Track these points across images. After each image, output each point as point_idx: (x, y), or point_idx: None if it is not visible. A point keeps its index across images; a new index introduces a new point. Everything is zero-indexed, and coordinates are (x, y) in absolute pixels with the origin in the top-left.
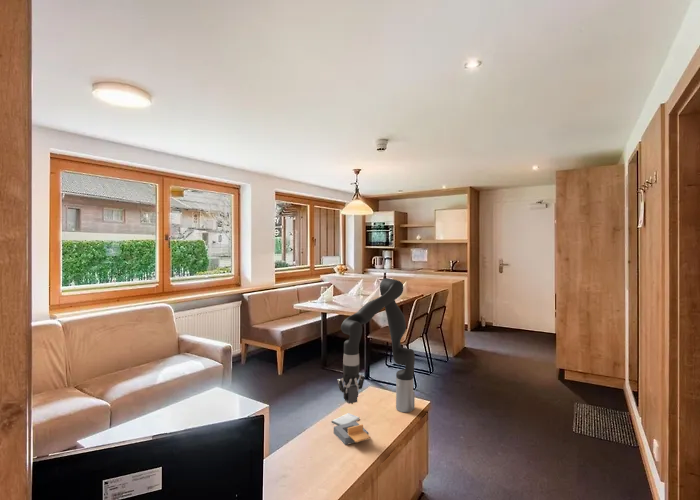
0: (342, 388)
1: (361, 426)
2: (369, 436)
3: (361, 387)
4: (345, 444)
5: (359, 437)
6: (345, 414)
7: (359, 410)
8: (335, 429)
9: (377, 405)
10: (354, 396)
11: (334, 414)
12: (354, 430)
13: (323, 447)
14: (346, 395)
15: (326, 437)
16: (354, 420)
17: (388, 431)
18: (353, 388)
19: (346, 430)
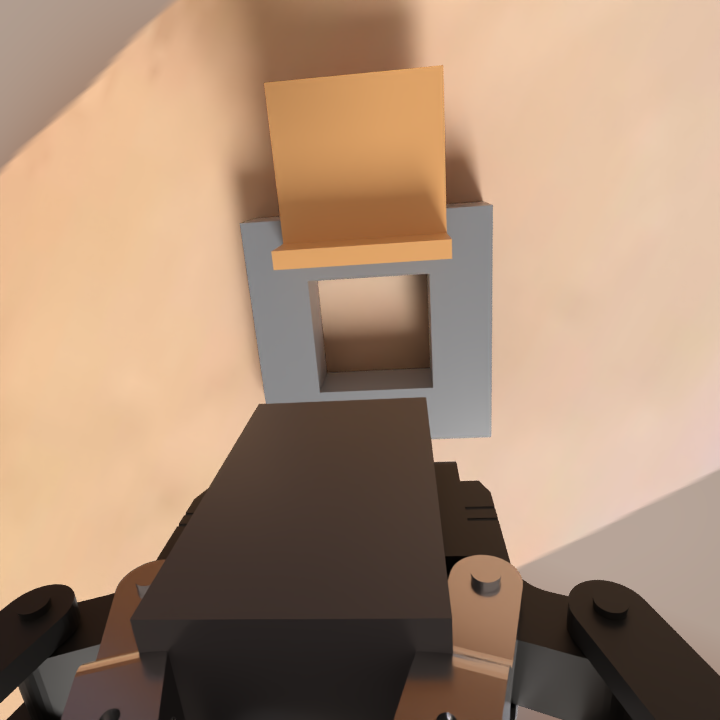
0: (680, 682)
1: (292, 248)
2: (271, 97)
3: (20, 607)
4: (479, 202)
5: (374, 122)
6: None
7: None
8: (489, 399)
9: None
10: (297, 456)
11: None
12: (378, 238)
13: (668, 240)
14: (467, 527)
15: (566, 375)
16: None
17: (48, 257)
18: (285, 593)
19: (388, 378)
